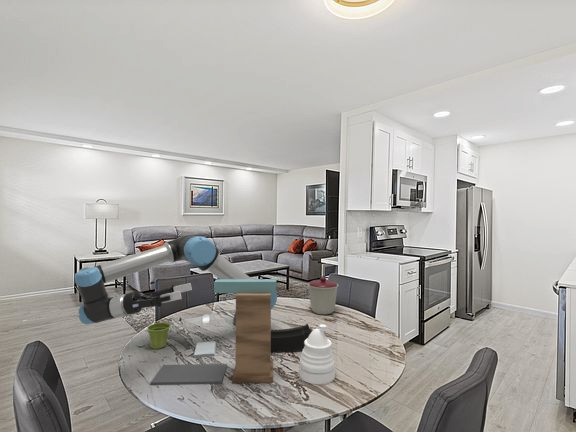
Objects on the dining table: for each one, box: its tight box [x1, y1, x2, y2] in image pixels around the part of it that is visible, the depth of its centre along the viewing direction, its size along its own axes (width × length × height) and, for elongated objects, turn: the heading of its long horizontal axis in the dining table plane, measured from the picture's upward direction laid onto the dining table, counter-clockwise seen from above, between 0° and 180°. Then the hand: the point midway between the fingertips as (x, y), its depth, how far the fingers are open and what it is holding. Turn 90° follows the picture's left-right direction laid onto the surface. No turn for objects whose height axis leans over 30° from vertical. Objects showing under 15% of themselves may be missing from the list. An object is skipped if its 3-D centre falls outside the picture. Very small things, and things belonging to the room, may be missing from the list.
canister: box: [307, 275, 340, 316], centre depth 179 cm, size 18×18×21 cm
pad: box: [149, 363, 228, 386], centre depth 109 cm, size 12×24×1 cm, turn 92°
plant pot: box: [146, 322, 171, 350], centre depth 132 cm, size 9×9×9 cm
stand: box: [231, 293, 274, 384], centre depth 110 cm, size 12×14×30 cm
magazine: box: [271, 323, 314, 354], centre depth 128 cm, size 17×3×30 cm
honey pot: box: [299, 324, 336, 386], centre depth 110 cm, size 13×13×18 cm
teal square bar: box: [213, 278, 277, 294], centre depth 110 cm, size 4×22×4 cm, turn 92°
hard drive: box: [193, 340, 217, 358], centre depth 129 cm, size 2×8×12 cm
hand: (186, 290), depth 110 cm, fingers open, 13 cm apart
